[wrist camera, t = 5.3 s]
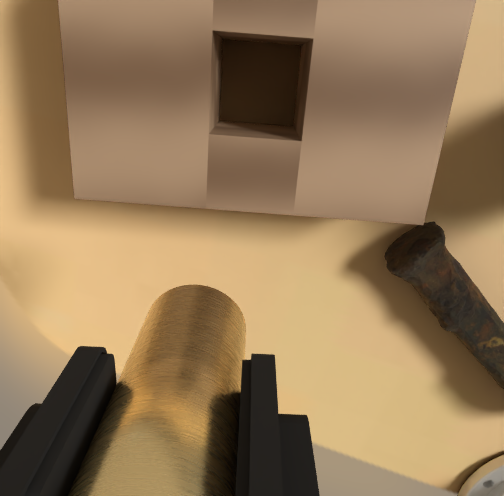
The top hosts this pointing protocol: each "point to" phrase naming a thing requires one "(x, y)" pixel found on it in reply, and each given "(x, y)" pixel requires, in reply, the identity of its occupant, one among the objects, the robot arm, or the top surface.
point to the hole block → (262, 135)
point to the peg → (173, 404)
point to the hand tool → (449, 294)
